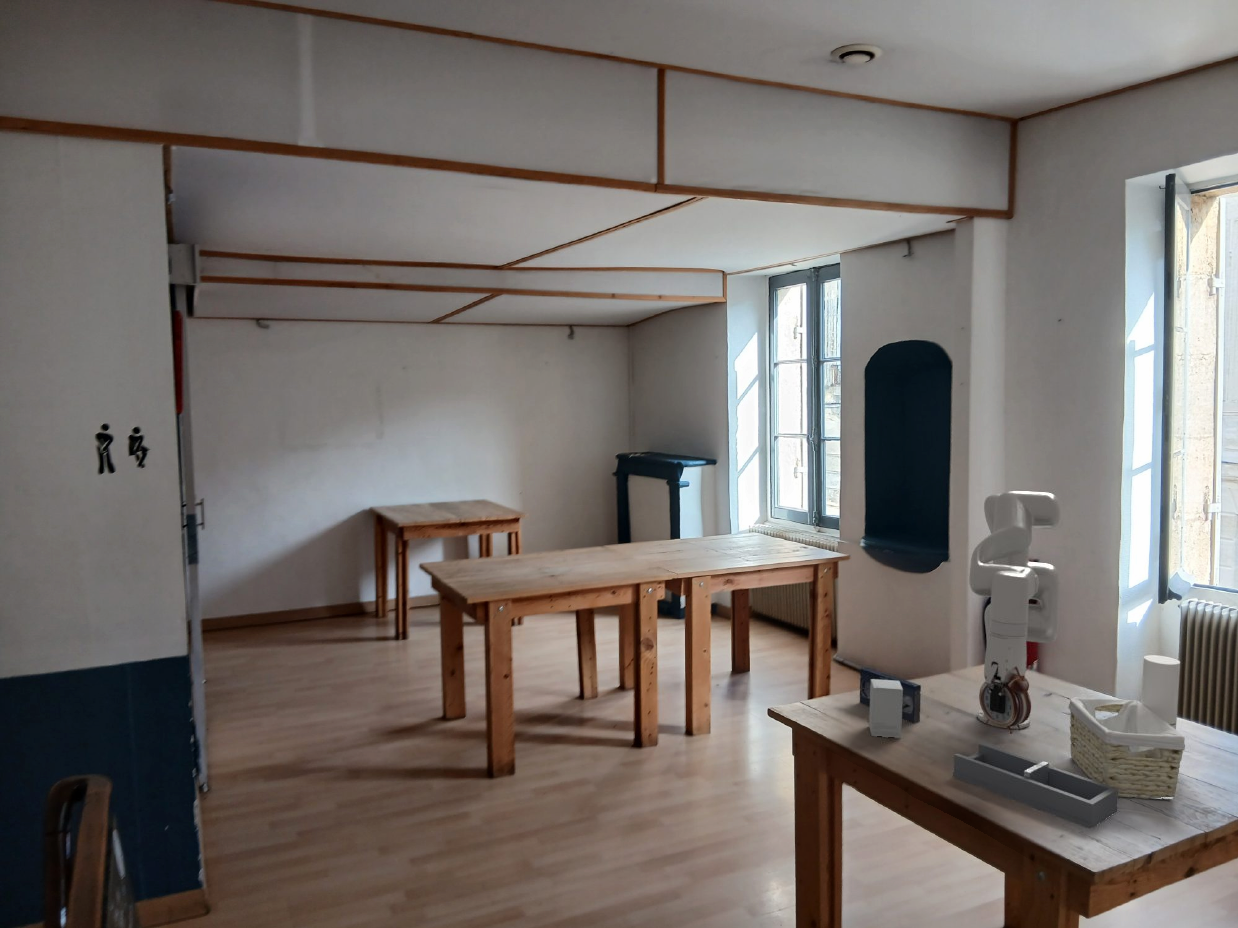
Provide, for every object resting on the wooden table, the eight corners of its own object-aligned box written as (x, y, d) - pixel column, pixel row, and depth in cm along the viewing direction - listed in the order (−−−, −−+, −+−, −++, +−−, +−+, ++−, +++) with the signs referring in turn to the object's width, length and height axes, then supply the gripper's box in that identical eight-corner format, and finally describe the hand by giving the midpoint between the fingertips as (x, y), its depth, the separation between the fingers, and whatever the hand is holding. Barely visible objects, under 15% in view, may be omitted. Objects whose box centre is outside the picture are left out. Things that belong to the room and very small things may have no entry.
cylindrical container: (1169, 760, 208) (1175, 656, 206) (1177, 772, 201) (1183, 665, 199) (1134, 756, 210) (1140, 653, 208) (1141, 768, 204) (1147, 662, 202)
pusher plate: (1042, 783, 193) (1043, 761, 192) (1047, 785, 192) (1048, 762, 191) (1023, 793, 188) (1024, 770, 187) (1028, 795, 187) (1029, 772, 186)
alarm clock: (976, 721, 199) (979, 655, 197) (992, 718, 201) (994, 653, 199) (1016, 738, 189) (1019, 669, 188) (1032, 734, 191) (1035, 666, 190)
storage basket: (1063, 754, 212) (1066, 694, 210) (1136, 759, 209) (1139, 698, 208) (1102, 799, 188) (1105, 732, 187) (1184, 805, 186) (1189, 737, 184)
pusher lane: (981, 763, 206) (982, 742, 206) (1117, 811, 182) (1118, 788, 182) (952, 776, 199) (953, 754, 198) (1090, 828, 175) (1092, 804, 175)
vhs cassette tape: (858, 703, 246) (859, 668, 245) (866, 701, 247) (867, 666, 246) (913, 724, 230) (914, 687, 229) (920, 722, 232) (921, 685, 231)
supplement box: (901, 739, 220) (903, 689, 219) (870, 736, 221) (872, 687, 220) (898, 728, 227) (900, 680, 226) (868, 725, 229) (870, 677, 228)
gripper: (1012, 618, 201) (1008, 696, 203) (971, 630, 191) (967, 712, 192) (1044, 625, 195) (1041, 705, 197) (1004, 638, 185) (1000, 722, 186)
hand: (1004, 707), depth 194 cm, fingers closed on alarm clock, 5 cm apart
